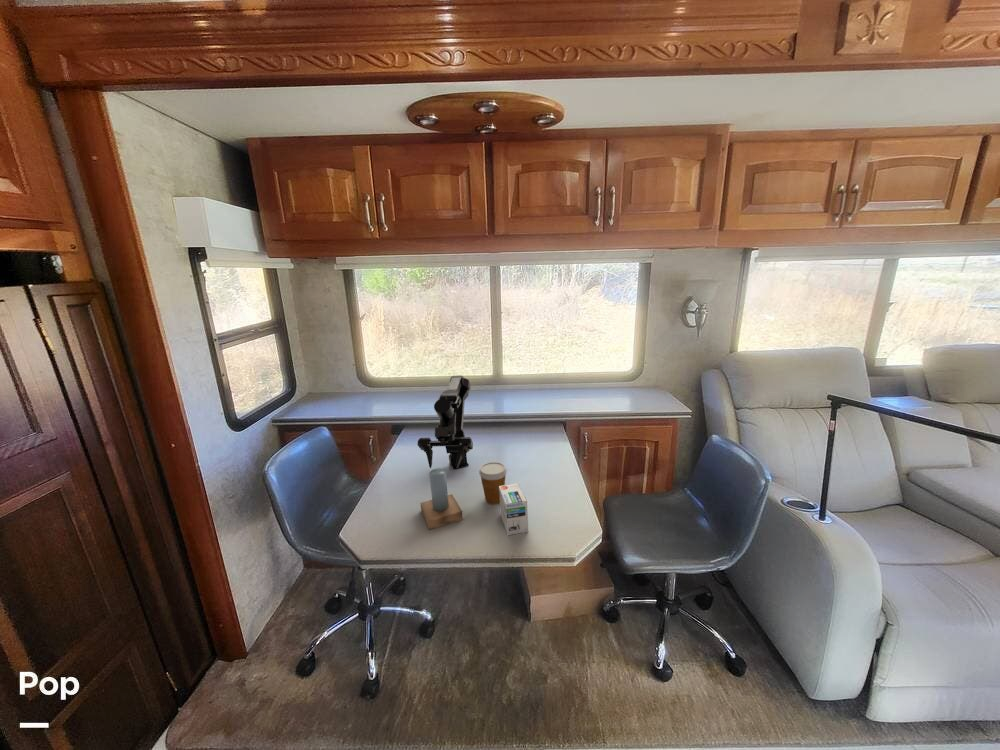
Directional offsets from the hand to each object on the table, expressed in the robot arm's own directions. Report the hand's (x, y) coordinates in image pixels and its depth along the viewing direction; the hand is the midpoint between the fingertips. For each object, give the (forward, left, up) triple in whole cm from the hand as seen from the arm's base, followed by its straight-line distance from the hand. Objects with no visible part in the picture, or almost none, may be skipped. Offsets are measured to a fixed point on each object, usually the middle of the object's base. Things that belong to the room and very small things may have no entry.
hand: (443, 467), depth 127 cm
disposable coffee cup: (-15, +7, -13) cm, 21 cm away
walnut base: (+4, +7, -13) cm, 15 cm away
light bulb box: (-15, +22, -13) cm, 30 cm away
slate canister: (+4, +7, -10) cm, 13 cm away
